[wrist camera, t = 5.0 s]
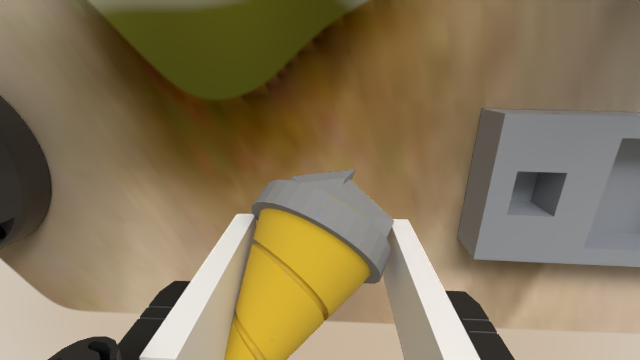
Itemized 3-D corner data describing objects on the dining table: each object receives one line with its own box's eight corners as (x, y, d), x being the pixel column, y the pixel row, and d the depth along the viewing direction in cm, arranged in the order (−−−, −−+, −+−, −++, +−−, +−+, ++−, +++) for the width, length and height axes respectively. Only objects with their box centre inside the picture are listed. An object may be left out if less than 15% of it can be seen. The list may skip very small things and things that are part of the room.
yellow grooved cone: (409, 220, 14) (303, 476, 10) (311, 182, 16) (185, 380, 11) (429, 147, 10) (249, 560, 5) (289, 106, 11) (72, 383, 7)
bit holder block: (457, 237, 24) (473, 259, 21) (482, 108, 20) (505, 113, 17) (682, 247, 23) (732, 271, 20) (746, 114, 19) (816, 121, 17)
